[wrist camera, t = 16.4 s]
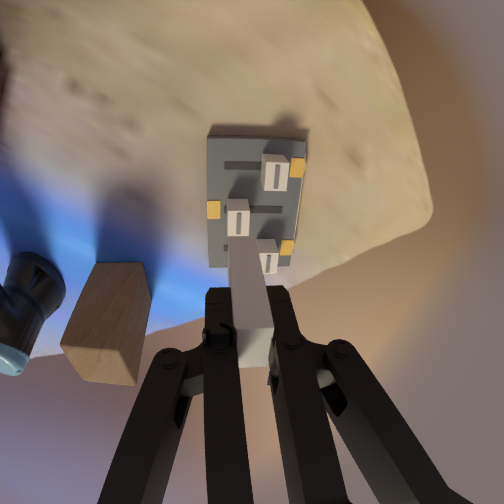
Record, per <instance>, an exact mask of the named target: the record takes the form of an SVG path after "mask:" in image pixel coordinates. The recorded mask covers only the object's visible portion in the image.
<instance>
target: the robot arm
mask: <svg viewBox="0 0 504 504" xmlns="http://www.w3.org/2000/svg"><path fill="white" fill-rule="evenodd" d="M228 284H229V287H219V288H210V289H209V290H208V292H207V293H206V296H205V328H204V329H203V332H202V337H203V342H202V343H201V344H200V345H199V346H198V347H196V348H194V349H192V350H189V351H185V352H181V351H180V350H178V349H175V348H166V349H162V350H161V351H159V352H158V353H157V354H156V355H155V356H154V358H153V361H152V363H151V365H150V368H149V370H148V372H147V375H146V377H145V379H144V382H143V384H142V386H141V389H140V391H139V394H138V396H137V398H136V401H135V404H134V406H133V408H132V411H131V413H130V416H129V418H128V421H127V423H126V426H125V429H124V431H123V434H122V436H121V439H120V442H119V444H118V447H117V450H116V452H115V455H114V458H113V460H112V463H111V466H110V469H109V471H108V474H107V477H106V480H105V483H104V485H103V488H102V491H101V494H100V497H99V500H98V503H97V504H162V501H163V497H164V494H165V491H166V487H167V483H168V480H169V476H170V473H171V469H172V465H173V462H174V459H175V455H176V452H177V449H178V445H179V441H180V438H181V434H182V431H183V428H184V424H185V421H186V418H187V414H188V411H189V407H190V404H191V401H192V397H193V396H195V395H198V394H201V393H204V434H205V460H206V480H207V496H208V504H254V501H253V493H252V485H251V478H250V469H249V460H248V451H247V442H246V433H245V424H244V414H243V405H242V394H241V384H240V374H239V368H247V367H264V366H268V361H269V366H270V372H269V377H268V384H267V385H270V386H271V392H272V399H273V405H274V412H275V418H276V424H277V430H278V436H279V442H280V449H281V455H282V461H283V467H284V474H285V480H286V486H287V492H288V498H289V504H352V503H351V502H350V501H349V499H348V497H347V493H346V489H345V485H344V481H343V476H342V472H341V468H340V464H339V460H338V456H337V452H336V448H335V444H334V440H333V436H332V432H331V428H330V424H329V421H328V417H327V413H328V414H329V416H330V418H331V420H332V422H333V423H334V425H335V426H336V429H337V430H338V432H339V434H340V436H341V437H342V439H343V441H344V443H345V444H346V446H347V448H348V450H349V451H350V453H351V455H352V457H353V458H354V460H355V462H356V464H357V465H358V467H359V469H360V471H361V472H362V474H363V475H364V477H365V479H366V481H367V483H368V484H369V486H370V488H371V490H372V491H373V493H374V495H375V496H376V498H377V500H378V502H379V503H380V504H473V503H471V502H470V501H468V500H467V499H465V498H464V497H462V496H460V495H459V494H457V493H456V492H454V491H453V490H451V489H450V488H449V487H448V486H447V484H446V483H445V481H444V480H443V478H442V476H441V475H440V474H439V472H438V470H437V469H436V467H435V465H434V464H433V463H432V461H431V459H430V458H429V456H428V455H427V453H426V452H425V450H424V448H423V447H422V445H421V444H420V442H419V441H418V439H417V438H416V436H415V435H414V433H413V432H412V430H411V429H410V427H409V426H408V424H407V423H406V421H405V420H404V418H403V417H402V416H401V414H400V412H399V411H398V409H397V408H396V406H395V405H394V403H393V402H392V401H391V399H390V398H389V396H388V395H387V393H386V392H385V390H384V389H383V387H382V386H381V384H380V383H379V382H378V380H377V379H376V377H375V376H374V374H373V373H372V372H371V370H370V369H369V367H368V366H367V364H366V363H365V361H364V360H363V359H362V357H361V356H360V354H359V353H358V352H357V350H356V349H355V347H354V346H353V345H352V344H351V343H349V342H348V341H345V340H341V339H337V340H333V341H331V342H329V344H328V345H322V344H317V343H313V342H310V341H308V340H306V339H305V337H304V336H303V335H302V334H301V333H300V330H299V327H298V323H297V320H296V316H295V313H294V309H293V306H292V302H291V299H290V295H289V292H288V291H287V290H286V289H285V288H284V286H283V285H278V286H266V285H265V280H264V275H263V270H262V265H261V261H260V256H259V251H258V246H257V241H256V237H228ZM64 297H65V285H64V282H63V280H62V278H61V276H60V274H59V273H58V271H57V270H56V269H55V268H54V267H53V266H52V265H51V264H50V263H49V262H48V261H47V260H45V259H44V258H42V257H41V256H39V255H37V254H34V253H30V252H22V253H19V254H17V255H16V256H15V257H14V259H13V260H12V261H11V263H10V264H9V266H8V270H7V275H6V278H5V281H4V285H3V287H2V286H1V284H0V372H1V373H3V374H6V375H11V376H16V375H19V374H21V373H22V371H23V370H24V368H25V366H26V364H27V362H28V360H29V356H30V354H31V351H32V349H33V346H34V344H35V342H36V339H37V337H38V335H39V332H40V330H41V328H42V325H43V323H44V321H45V320H46V319H47V318H48V317H49V316H51V315H52V314H53V313H54V311H56V310H57V309H58V308H59V307H60V306H61V304H62V302H63V300H64ZM326 411H327V413H326Z"/></svg>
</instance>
